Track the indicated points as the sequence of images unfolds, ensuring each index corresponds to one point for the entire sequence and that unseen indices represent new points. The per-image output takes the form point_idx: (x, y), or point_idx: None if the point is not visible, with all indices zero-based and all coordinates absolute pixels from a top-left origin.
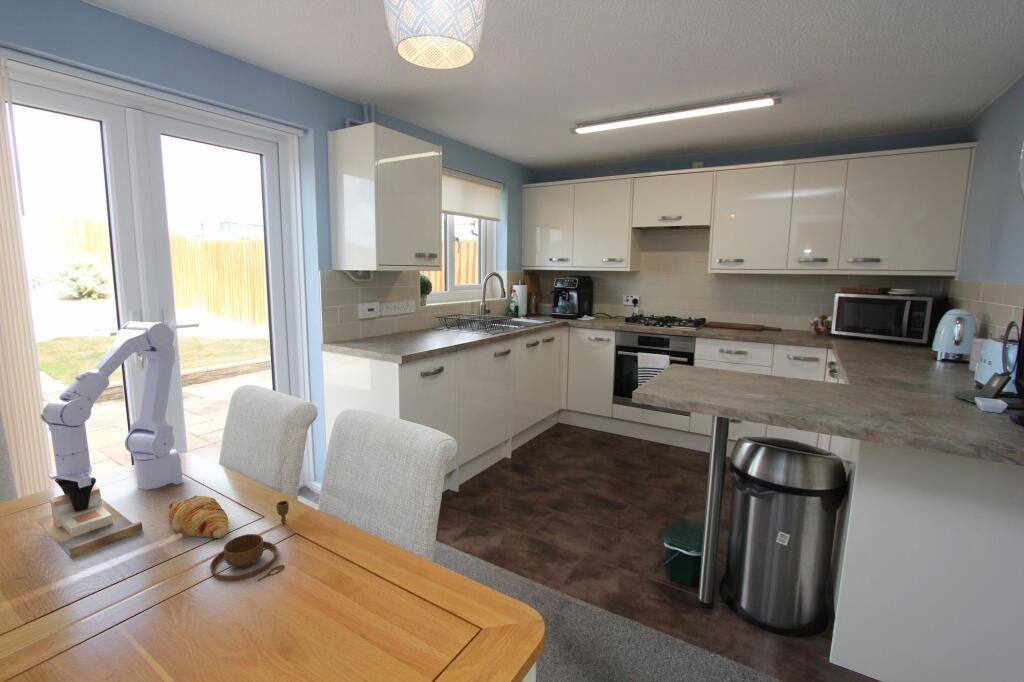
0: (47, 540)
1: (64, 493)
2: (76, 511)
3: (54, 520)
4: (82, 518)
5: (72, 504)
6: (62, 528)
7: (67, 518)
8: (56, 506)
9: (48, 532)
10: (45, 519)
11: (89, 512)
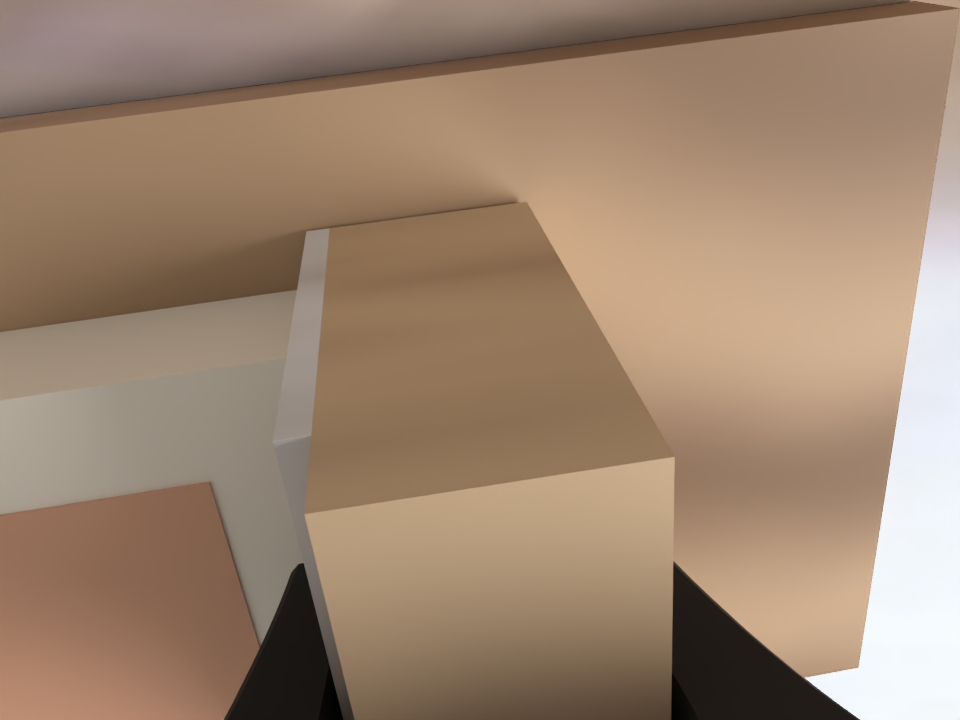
0: (113, 60)
1: (765, 689)
2: (296, 573)
3: (444, 246)
4: (50, 586)
5: (293, 662)
6: (249, 281)
7: (225, 427)
8: (283, 474)
9: (228, 109)
10: (817, 124)
11: (238, 659)
